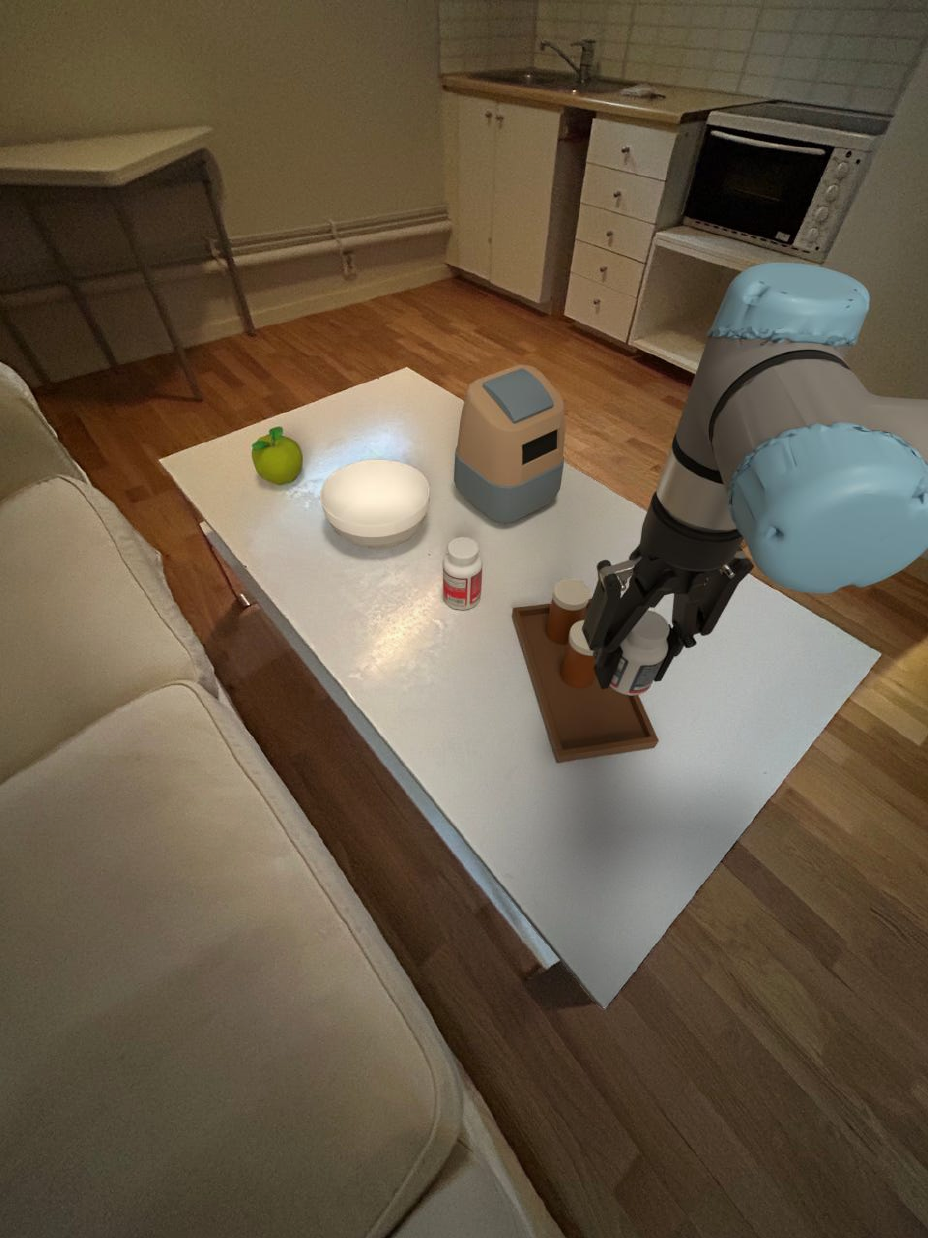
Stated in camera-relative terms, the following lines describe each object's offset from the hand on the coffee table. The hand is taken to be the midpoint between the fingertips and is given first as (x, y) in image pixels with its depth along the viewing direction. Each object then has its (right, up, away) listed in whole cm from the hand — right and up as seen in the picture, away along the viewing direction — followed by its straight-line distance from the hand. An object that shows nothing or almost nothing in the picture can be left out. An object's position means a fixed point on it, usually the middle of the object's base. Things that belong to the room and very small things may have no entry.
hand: (627, 674), depth 59 cm
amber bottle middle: (-1, -2, +20) cm, 20 cm away
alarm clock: (-10, +30, +48) cm, 57 cm away
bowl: (-33, +22, +41) cm, 57 cm away
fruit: (-54, +34, +50) cm, 81 cm away
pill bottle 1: (-18, +9, +30) cm, 36 cm away
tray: (-1, -2, +20) cm, 20 cm away
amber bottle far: (-3, +4, +25) cm, 25 cm away
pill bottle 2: (0, 0, 0) cm, 1 cm away
